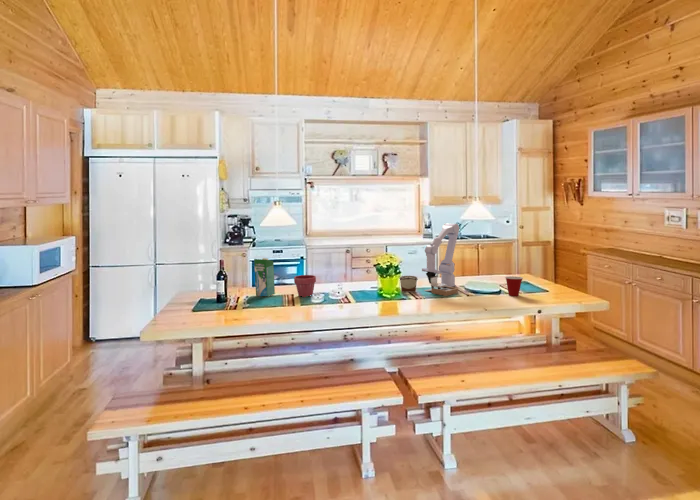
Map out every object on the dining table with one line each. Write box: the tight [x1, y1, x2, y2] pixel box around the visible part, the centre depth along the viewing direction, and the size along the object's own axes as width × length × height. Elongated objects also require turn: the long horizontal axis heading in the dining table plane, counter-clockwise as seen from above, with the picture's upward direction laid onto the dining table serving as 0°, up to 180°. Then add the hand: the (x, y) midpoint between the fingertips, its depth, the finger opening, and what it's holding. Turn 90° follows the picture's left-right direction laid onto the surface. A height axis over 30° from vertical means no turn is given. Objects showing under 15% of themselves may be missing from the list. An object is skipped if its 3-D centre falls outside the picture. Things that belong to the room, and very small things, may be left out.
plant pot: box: [293, 274, 317, 298], centre depth 316 cm, size 14×14×13 cm
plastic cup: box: [504, 275, 524, 297], centre depth 304 cm, size 11×11×12 cm
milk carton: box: [253, 257, 276, 297], centre depth 320 cm, size 9×9×25 cm
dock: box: [423, 286, 459, 297], centre depth 318 cm, size 12×21×4 cm, turn 40°
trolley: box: [429, 275, 447, 289], centre depth 318 cm, size 7×9×8 cm
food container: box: [399, 275, 419, 293], centre depth 323 cm, size 12×6×10 cm, turn 84°
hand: (431, 283), depth 323 cm, fingers closed
